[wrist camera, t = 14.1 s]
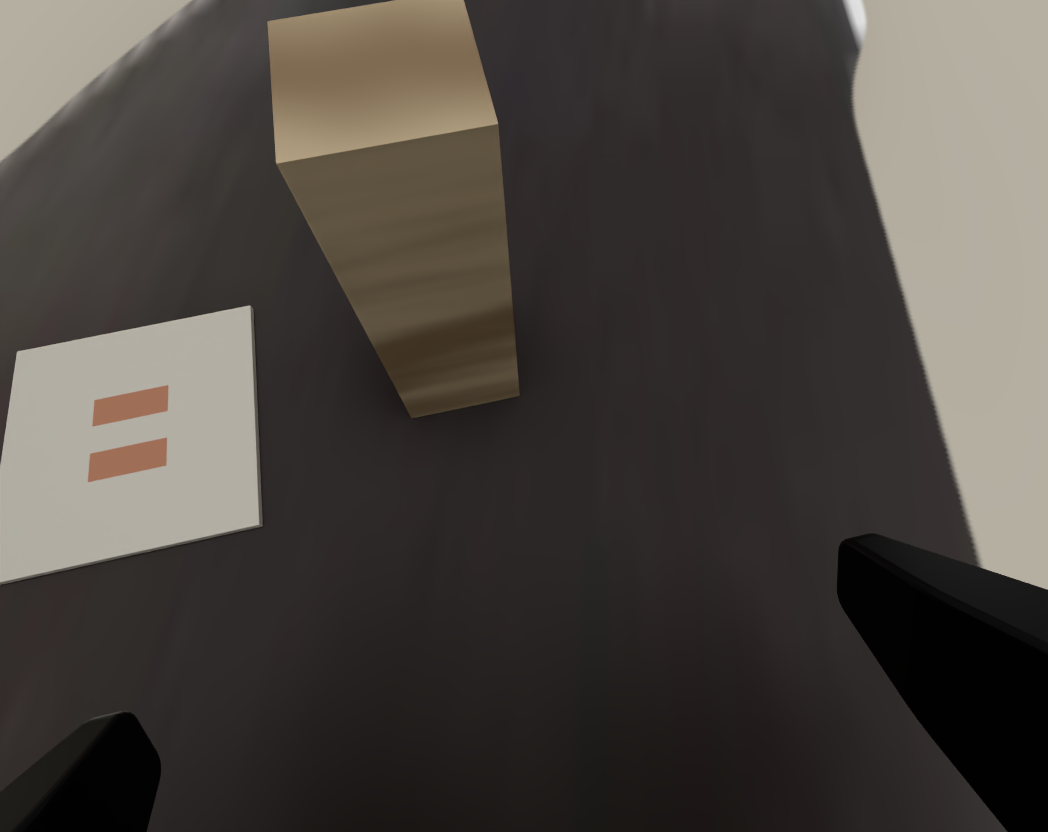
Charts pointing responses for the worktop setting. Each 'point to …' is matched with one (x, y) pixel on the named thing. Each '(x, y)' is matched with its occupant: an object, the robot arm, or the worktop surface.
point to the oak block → (403, 189)
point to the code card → (130, 444)
